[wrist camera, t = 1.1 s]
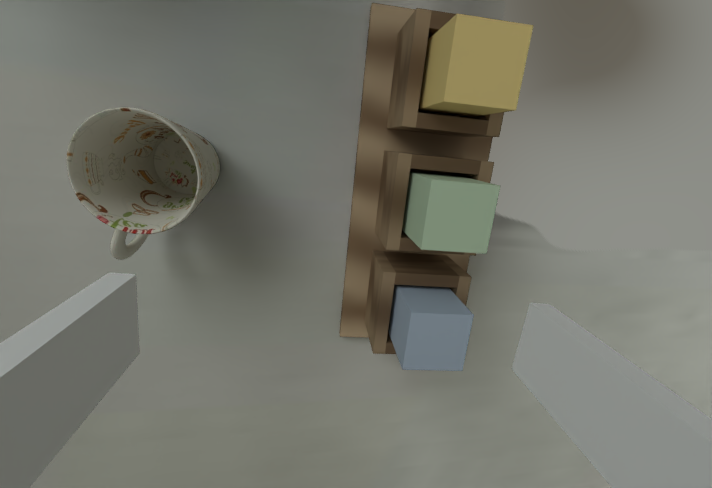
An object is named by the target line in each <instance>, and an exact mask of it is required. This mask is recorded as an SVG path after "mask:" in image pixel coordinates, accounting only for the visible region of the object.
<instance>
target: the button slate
mask: <svg viewBox="0 0 712 488" xmlns="http://www.w3.org/2000/svg"><path fill="white" fill-rule="evenodd" d="M473 317H474V315H473V314H472V313H471V311H470V310H469V309H468V308H467V307H466V306H465V305H464V304H463V303H462V302H461V300H460V299H459V298H458V297H457V296H456V295H455V294H454V293H453V292H452V290H451V289H450V288H449V287H434V286H415V285H395V284H394V290H393V298H392V305H391V312H390V320H389V327H388V333H389V335H390V338H391V340H392V343H393V346H394V348H395V351H396V354H397V356H398V359H399V362H400V364H401V367H402V370H446V371H462V370H463V365H464V360H465V355H466V351H467V346H468V341H469V336H470V331H471V326H472V321H473Z"/></svg>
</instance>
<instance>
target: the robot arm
mask: <svg viewBox="0 0 712 488" xmlns="http://www.w3.org/2000/svg"><path fill="white" fill-rule="evenodd" d="M139 353H140V349H139V328H138V306H137V285H136V274H123V273H107V274H106V275H104V276H103V277H101V278H100V279H98V280H97V281H95V282H94V283H92V284H90V285H89V286H87V287H86V288H84V289H83V290H81V291H80V292H78V293H77V294H75V295H74V296H72V297H70V298H69V299H67V300H66V301H64V302H63V303H61V304H60V305H58V306H57V307H55V308H54V309H52V310H51V311H49V312H47V313H46V314H44V315H43V316H41V317H40V318H38V319H37V320H35V321H34V322H32V323H31V324H29V325H28V326H26V327H24V328H23V329H21V330H20V331H18V332H17V333H15V334H14V335H12V336H11V337H9V338H8V339H6V340H4V341H3V342H1V343H0V488H30V487H31V485H32V484H33V483H34V482H35V480H36V479H37V478H38V477H39V476H40V474H41V473H42V472H43V471H44V469H45V468H46V467H47V466H48V464H49V463H50V462H51V461H52V460H53V458H54V457H55V456H56V455H57V453H58V452H59V451H60V450H61V449H62V447H63V446H64V445H65V444H66V442H67V441H68V440H69V439H70V438H71V436H72V435H73V434H74V433H75V431H76V430H77V429H78V428H79V427H80V425H81V424H82V423H83V422H84V420H85V419H86V418H87V417H88V416H89V414H90V413H91V412H92V411H93V409H94V408H95V407H96V406H97V405H98V403H99V402H100V401H101V400H102V398H103V397H104V396H105V395H106V394H107V392H108V391H109V390H110V389H111V387H112V386H113V385H114V384H115V383H116V381H117V380H118V379H119V378H120V376H121V375H122V374H123V373H124V372H125V370H126V369H127V368H128V367H129V365H130V364H131V363H132V362H133V361H134V359H135V358H136V357H137V356H138V354H139ZM512 370H513V371H514V373H515V374H516V375H517V376H518V377H519V378H520V380H521V381H522V382H523V383H524V384H525V386H526V387H527V388H528V389H529V390H530V391H531V393H532V394H533V395H534V396H535V397H536V399H537V400H538V401H539V402H540V403H541V404H542V406H543V407H544V408H545V409H546V410H547V411H548V413H549V414H550V415H551V416H552V417H553V419H554V420H555V421H556V422H557V423H558V424H559V426H560V427H561V428H562V429H563V430H564V432H565V433H566V434H567V435H568V436H569V437H570V439H571V440H572V441H573V442H574V443H575V445H576V446H577V447H578V448H579V449H580V450H581V452H582V453H583V454H584V455H585V456H586V457H587V459H588V460H589V461H590V462H591V463H592V465H593V466H594V467H595V468H596V469H597V470H598V472H599V473H600V474H601V475H602V476H603V478H604V479H605V480H606V481H607V482H608V483H609V485H610V486H611V487H612V488H712V419H711V418H710V417H708V416H707V415H706V414H704V413H703V412H701V411H700V410H698V409H697V408H696V407H694V406H693V405H691V404H690V403H689V402H687V401H686V400H684V399H683V398H682V397H680V396H679V395H677V394H676V393H675V392H673V391H672V390H670V389H669V388H667V387H666V386H665V385H663V384H662V383H660V382H659V381H658V380H656V379H655V378H653V377H652V376H651V375H649V374H648V373H646V372H645V371H644V370H642V369H641V368H639V367H638V366H636V365H635V364H634V363H632V362H631V361H629V360H628V359H627V358H625V357H624V356H622V355H621V354H620V353H618V352H617V351H615V350H614V349H612V348H611V347H610V346H608V345H607V344H605V343H604V342H603V341H601V340H600V339H598V338H597V337H596V336H594V335H593V334H591V333H590V332H589V331H587V330H586V329H584V328H583V327H581V326H580V325H579V324H577V323H576V322H574V321H573V320H572V319H570V318H569V317H567V316H566V315H565V314H563V313H562V312H560V311H559V310H557V309H556V308H555V307H553V306H552V305H550V304H544V303H530V304H529V308H528V312H527V315H526V319H525V322H524V326H523V329H522V333H521V336H520V340H519V344H518V347H517V351H516V354H515V358H514V361H513V365H512Z"/></svg>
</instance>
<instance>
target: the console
mask: <svg viewBox="0 0 712 488" xmlns="http://www.w3.org/2000/svg"><path fill="white" fill-rule="evenodd" d="M455 15H456V14H452V13H445V12H439V11H432V10H426V9H420V8H416V10H415V9H409V8H402V7H396V6H389V5H383V4H377V3H372V5H371V10H370V20H369V30H368V41H367V51H366V62H365V72H364V83H363V93H362V104H361V114H360V124H359V135H358V145H357V156H356V166H355V177H354V187H353V197H352V208H351V218H350V229H349V239H348V250H347V260H346V270H345V281H344V291H343V302H342V312H341V323H340V337H369V340H370V343H371V347H372V351H373V353H377V354H396V351H395V348H394V346H393V343H392V340H391V338H390V335H389V333H388V327H389V320H390V312H391V305H392V298H393V290H394V284H395V285H415V286H434V287H449V288H450V289H451V290H452V292H453V293H454V294H455V295H456V296H457V297H458V298H459V299H460V300H461V302H462V303H463V304H464V305H465V306H466V302H467V297H468V292H469V287H470V282H471V276H470V275H469V274H468V273H467V267H468V262H469V257H470V255H475V256H476V253H467V252H451V251H436V250H421V249H420V248H419V247H418V246H417V245H416V244H415V243H414V242H413V241H412V240H411V239H410V238H409V237H408V236H407V234H406V233H405V232H404V231H403V230H402V225H403V217H404V210H405V203H406V195H407V188H408V181H409V173H410V171H411V172H422V173H432V174H443V175H453V176H462V177H467V178H471V179H475V180H479V181H483V182H487V183H490V181H491V176H492V171H493V166H494V162H488V158H489V153H490V148H491V143H492V138H493V137H499V135H500V130H501V125H502V120H503V115H504V112H501V113H494V114H488V115H481V116H474V117H469V116H460V115H452V114H443V113H435V112H426V111H418V107H419V100H420V93H421V85H422V78H423V71H424V63H425V56H426V49H427V41H428V39H429V38H431V37H432V36H433V35H434V34H435V33H436V32H437V31H438V30H439V29H441V28H442V27H443V26H444V25H445V24H446V23H447V22H448V21H449V20H451V19H452V18H453V17H454V16H455Z"/></svg>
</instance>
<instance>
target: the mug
mask: <svg viewBox="0 0 712 488" xmlns="http://www.w3.org/2000/svg"><path fill="white" fill-rule="evenodd" d="M67 172H68V176H69V180H70V183H71V186H72V188H73V190H74V192H75V194H76V195H77V197H78V199H79V200H80V201H81V203H82V204H83V205H84V206H85V208H86V209H87V210H88V211H89V212H90V213H91V214H93V215H94V216H95V217H96V218H97V219H99V220H100V221H102V222H103V223H105V224H107V225H109V226H111V227H113V228H115V231H114V234H113V237H112V240H111V245H110V249H111V253H112V255H113V257H115V258H116V259H118V260H123V259H126V258H128V257H130V256H131V255H133V254H134V253H135V252H136V251H137V250H138V249H139V248H140V247H141V245H142V244H143V243H144V241H145V240H146V238H147V236H148V235H149V234H154V233H159V232H163V231H166V230H168V229H171V228H173V227H175V226H176V225H178V224H180V223H181V222H183V221H184V220H185V219H186V218H187V217H188V216H189V215H190V214H191V213H192V212H193V211H194V210H195V208H196V207H197V206H198V205H199V203H200V202H201V201H202V200H203V199H204V197H205V196H206V195H207V194H208V193H209V191H210V190H211V189H212V188H213V186H214V185H215V183H216V182H217V179H218V177H219V172H220V163H219V158H218V155H217V153H216V151H215V149H214V148H213V146H212V145H211V144H210V143H209V142H208V141H207V140H206V139H205V138H203V137H202V136H200V135H199V134H197V133H195V132H193V131H191V130H189V129H187V128H185V127H182V126H180V125H178V124H176V123H174V122H172V121H170V120H168V119H166V118H164V117H162V116H160V115H158V114H155V113H152V112H149V111H146V110H142V109H137V108H129V107H120V108H112V109H107V110H104V111H101V112H98V113H96V114H94V115H92V116H91V117H89V118H88V119H87V120H85V121H84V122H83V123H82V124H81V125H80V126H79V127H78V129H77V130H76V131H75V133H74V135H73V136H72V138H71V141H70V143H69V146H68V151H67ZM127 233H134V234H137V236H136V237H135V238H134V239H133V240H132V241H131V242H130V243H129V244H128V245H125V239H126V236H127Z"/></svg>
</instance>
